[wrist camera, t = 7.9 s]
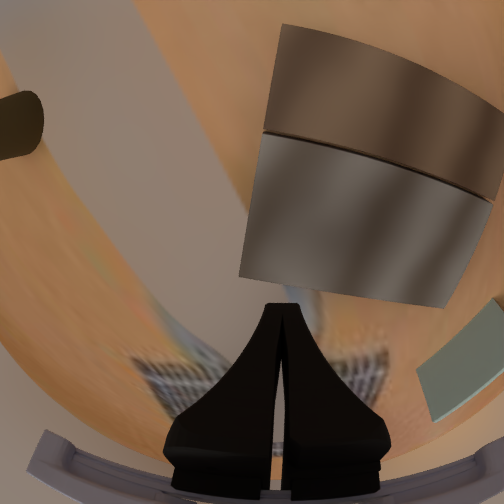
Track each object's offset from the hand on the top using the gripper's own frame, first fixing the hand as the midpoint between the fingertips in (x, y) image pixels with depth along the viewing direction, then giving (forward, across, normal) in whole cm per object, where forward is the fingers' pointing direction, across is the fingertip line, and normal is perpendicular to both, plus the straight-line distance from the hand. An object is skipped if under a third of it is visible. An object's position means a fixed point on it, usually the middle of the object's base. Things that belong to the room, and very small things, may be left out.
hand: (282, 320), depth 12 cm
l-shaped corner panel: (+10, -24, +16) cm, 30 cm away
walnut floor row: (+9, -8, -8) cm, 15 cm away
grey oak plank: (+8, -8, -5) cm, 12 cm away
